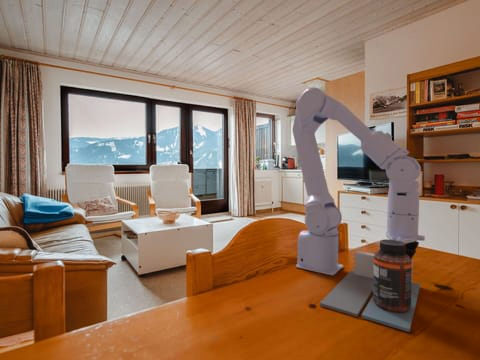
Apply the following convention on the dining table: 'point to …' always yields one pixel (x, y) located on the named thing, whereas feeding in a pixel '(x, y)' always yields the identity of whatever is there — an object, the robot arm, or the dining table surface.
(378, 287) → the supplement bottle
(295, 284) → the dining table surface
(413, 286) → the strip
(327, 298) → the strip empty
